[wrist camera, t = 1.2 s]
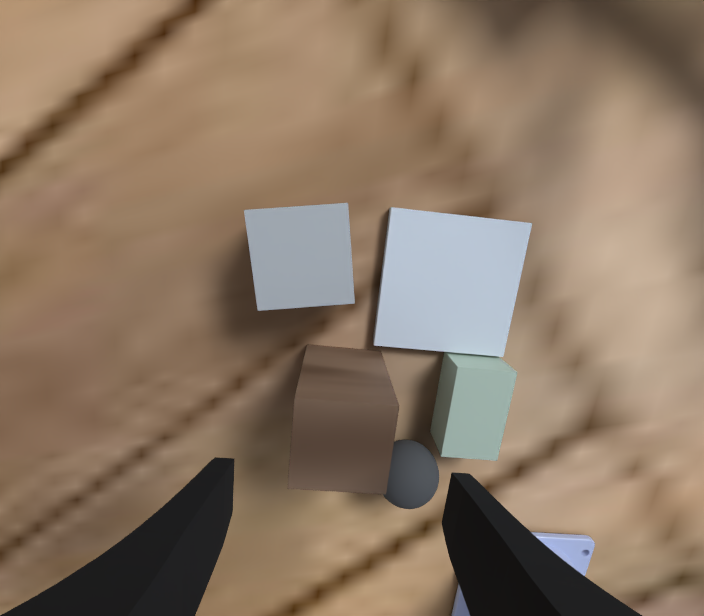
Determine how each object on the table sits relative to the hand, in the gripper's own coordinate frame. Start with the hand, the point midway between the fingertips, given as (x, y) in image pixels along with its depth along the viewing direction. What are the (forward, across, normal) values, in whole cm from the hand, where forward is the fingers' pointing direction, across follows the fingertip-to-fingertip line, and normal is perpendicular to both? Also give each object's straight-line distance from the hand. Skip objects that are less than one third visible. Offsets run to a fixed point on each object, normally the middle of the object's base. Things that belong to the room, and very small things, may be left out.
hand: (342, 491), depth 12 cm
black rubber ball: (+7, -4, +4) cm, 9 cm away
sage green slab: (+8, -7, 0) cm, 11 cm away
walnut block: (+8, 0, 0) cm, 8 cm away
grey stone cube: (+8, +2, -7) cm, 11 cm away
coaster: (+8, -5, -6) cm, 11 cm away
